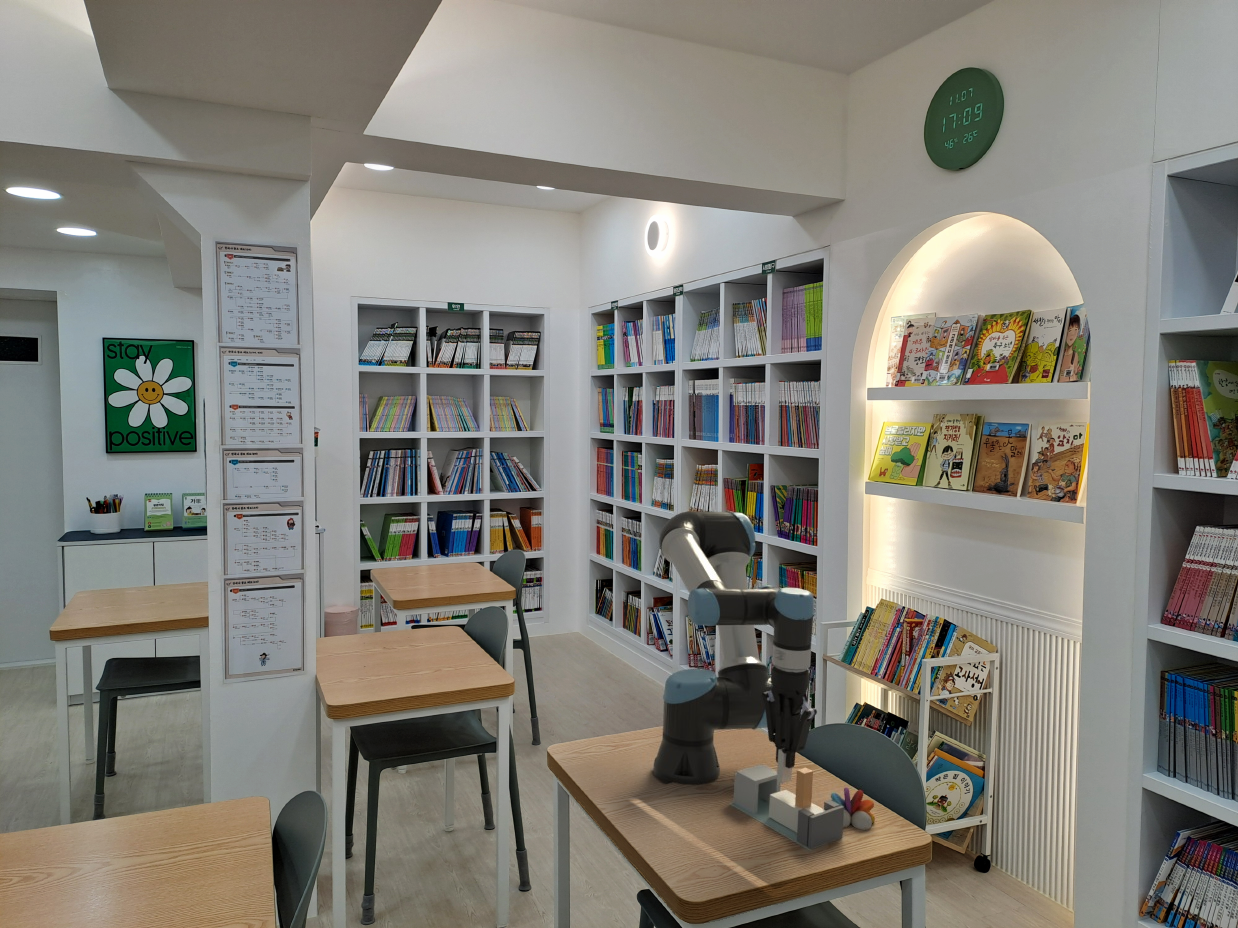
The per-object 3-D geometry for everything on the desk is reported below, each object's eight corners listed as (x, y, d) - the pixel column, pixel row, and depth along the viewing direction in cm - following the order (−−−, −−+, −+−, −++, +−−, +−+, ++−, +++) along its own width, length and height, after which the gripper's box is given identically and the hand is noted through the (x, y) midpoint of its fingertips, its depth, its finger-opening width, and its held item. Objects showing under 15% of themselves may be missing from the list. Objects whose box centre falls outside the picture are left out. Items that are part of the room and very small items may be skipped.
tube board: (728, 808, 173) (730, 771, 173) (763, 797, 179) (764, 761, 179) (808, 854, 155) (810, 814, 155) (843, 841, 161) (846, 801, 161)
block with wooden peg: (768, 816, 167) (771, 760, 167) (784, 811, 170) (787, 755, 170) (814, 842, 158) (817, 782, 157) (830, 836, 160) (833, 777, 160)
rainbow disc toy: (876, 836, 164) (878, 800, 163) (825, 830, 166) (827, 794, 165) (872, 817, 172) (874, 783, 172) (824, 811, 174) (825, 777, 174)
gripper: (754, 660, 169) (747, 772, 171) (802, 678, 159) (795, 798, 160) (779, 655, 173) (773, 764, 175) (828, 672, 163) (821, 788, 165)
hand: (784, 780), depth 168 cm, fingers closed
